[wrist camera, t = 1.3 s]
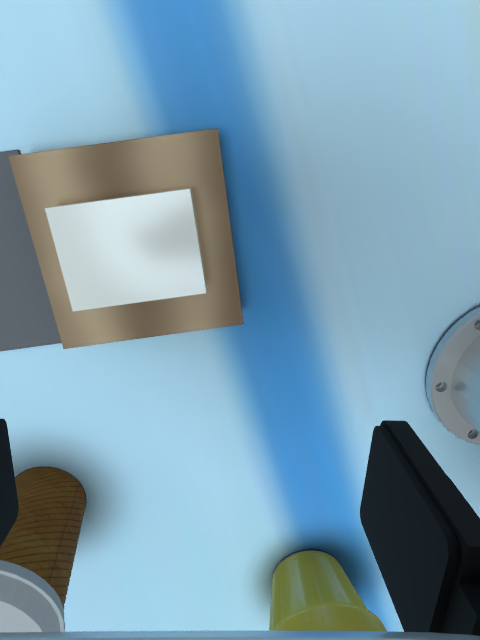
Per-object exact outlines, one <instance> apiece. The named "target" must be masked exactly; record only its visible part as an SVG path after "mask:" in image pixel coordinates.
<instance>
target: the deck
mask: <svg viewBox="0 0 480 640" xmlns="http://www.w3.org/2000/svg"><path fill="white" fill-rule="evenodd" d="M8 157H9V161H10V164H11V168H12V171H13V175H14V178H15V182H16V185H17V189H18V192H19V196H20V199H21V203H22V206H23V209H24V213H25V216H26V220H27V223H28V227H29V230H30V234H31V237H32V241H33V244H34V248H35V251H36V255H37V258H38V262H39V265H40V269H41V272H42V275H43V279H44V282H45V286H46V289H47V293H48V296H49V300H50V303H51V307H52V310H53V314H54V317H55V321H56V324H57V328H58V331H59V334H60V338H61V341H62V345H63V348H64V349H67V348H74V347H82V346H89V345H96V344H103V343H111V342H118V341H125V340H132V339H139V338H147V337H154V336H161V335H168V334H176V333H183V332H190V331H197V330H204V329H212V328H219V327H226V326H233V325H241V324H244V323H243V316H242V308H241V300H240V293H239V285H238V278H237V270H236V262H235V255H234V247H233V240H232V232H231V224H230V217H229V209H228V202H227V194H226V186H225V179H224V171H223V164H222V156H221V148H220V141H219V133H218V128H216V129H208V130H201V131H193V132H186V133H178V134H171V135H163V136H156V137H148V138H141V139H133V140H126V141H118V142H111V143H103V144H95V145H88V146H80V147H73V148H65V149H58V150H50V151H43V152H35V153H28V154H20V155H13V156H8ZM191 187H192V193H193V199H194V206H195V212H196V218H197V225H198V231H199V238H200V244H201V250H202V257H203V263H204V269H205V276H206V282H207V291H206V293H204V294H197V295H189V296H182V297H175V298H168V299H160V300H153V301H146V302H139V303H131V304H124V305H117V306H109V307H102V308H95V309H88V310H80V311H73V310H72V307H71V303H70V299H69V296H68V292H67V288H66V285H65V281H64V277H63V274H62V270H61V266H60V262H59V259H58V255H57V251H56V248H55V244H54V240H53V237H52V233H51V229H50V226H49V222H48V218H47V215H46V211H45V208H49V207H53V206H58V205H65V204H72V203H80V202H87V201H95V200H102V199H110V198H117V197H124V196H132V195H139V194H147V193H154V192H162V191H169V190H176V189H184V188H191Z"/></svg>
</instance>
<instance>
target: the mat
mask: <svg viewBox="0 0 480 640" xmlns="http://www.w3.org/2000/svg"><path fill="white" fill-rule="evenodd" d="M13 155H20V151H19V150H13V151H6V152H0V351H6V350H14V349H21V348H28V347H35V346H43V345H50V344H57V343H62V341H61V338H60V334H59V331H58V328H57V324H56V321H55V317H54V314H53V310H52V307H51V303H50V300H49V296H48V293H47V289H46V286H45V282H44V279H43V275H42V272H41V269H40V265H39V262H38V258H37V255H36V251H35V248H34V244H33V241H32V237H31V234H30V230H29V227H28V223H27V220H26V216H25V213H24V209H23V206H22V203H21V199H20V196H19V192H18V189H17V185H16V182H15V178H14V175H13V171H12V168H11V164H10V161H9V157H8V156H13Z"/></svg>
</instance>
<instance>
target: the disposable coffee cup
mask: <svg viewBox="0 0 480 640" xmlns="http://www.w3.org/2000/svg"><path fill="white" fill-rule="evenodd" d="M15 483H16V490H17V497H18V503H19V511H18V516H17V519H16V521H15V523H14V525H13V527H12V528H11V530H10V532H9V533H8V535H7V537H6V538H5V540H4V542H3V543H2V545H1V547H0V632H64V631H65V623H64V603H65V600H66V594H67V590H68V588H67V587H68V586H69V581H70V579H69V578H70V576H71V570H72V567H73V562H74V557H75V556H74V555H75V552H76V549H75V548H77V543H78V542H77V541H78V538H79V533H80V528H81V524H82V523H81V522H82V519H83V515H84V510H85V506H86V495H85V491H84V489H83V487H82V485H81V484H80V483H79V482H78V481H77V480H76V479H75V478H74V477H73V476H72V475H70V474H68V473H66V472H65V471H62V470H59V469H56V468H51V467H37V468H32V469H29V470H26V471H24V472H22V473H21V474H19V475H18V476H17V477H15Z"/></svg>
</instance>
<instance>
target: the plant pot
mask: <svg viewBox="0 0 480 640" xmlns="http://www.w3.org/2000/svg"><path fill="white" fill-rule="evenodd" d="M269 631H386V629H385V627H384V625H383V623H382V622H381V620H380V619H379V618H378V617H377V616H376V615H375V614H373V613H372V612H370V611H369V610H367V608H366V606H365V605H364V603H363V602H362V600H361V598H360V597H359V595H358V594H357V592H356V590H355V589H354V587H353V585H352V584H351V582H350V580H349V579H348V577H347V575H346V574H345V572H344V570H343V568H342V567H341V565H340V564H339V562H338V561H337V560H336V559H335V558H334V557H332V556H331V555H329V554H327V553H325V552H321V551H315V550H307V551H301V552H297V553H294V554H292V555H290V556H288V557H287V558H285V559H284V560H283V561H281V562H280V563H279V565H278V566H277V567H276V569H275V571H274V573H273V577H272V592H271V610H270V627H269ZM386 632H387V631H386Z"/></svg>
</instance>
